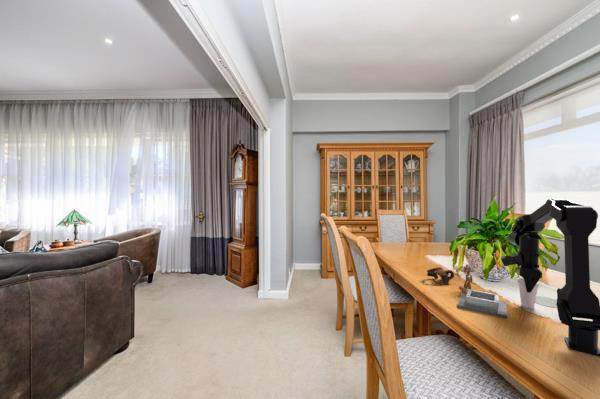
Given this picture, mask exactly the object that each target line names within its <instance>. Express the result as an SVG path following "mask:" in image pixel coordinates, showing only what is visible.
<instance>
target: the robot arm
mask: <svg viewBox="0 0 600 399" xmlns="http://www.w3.org/2000/svg"><path fill="white" fill-rule="evenodd" d="M598 218H599V214H598V211H597V210H596V209H594V208H593V206H589V205H585V204H581V203H578V202H574V201H571V200H570V199H566V198H549V199H547V200H546V201H545V203H544V204H542V205H541V206H540V207H538V208H537V209H536V210H534V211H533V212H532V213H529V214H524V215H521V216H519V217H517V219H516V220H515V222H514V224H513V226H512V227H511V232H510V233H509V234H508V236H507V240H508V242H509V243H511V244H512V245H513V246H514V245H515V246H517V247H518V250H517V253H515V254H507V255H503V256H501V257H500V260H501V262H502V265H503V267H509V266H513V265H514V266H515V265H516V267H517V270H518V275H519V276H520V277H521V278H522V279H524V281H525V286H526V290H527V292H529V293H531V291H532V290H533V288H534V287H535V285H536V284H537V282H538V283H539V281H540V280H541V279H542V278H543V271H542V270H541V269H540V263H539V261H540V260H539V258H540V253H539V252H540V240H542V237H541V235H539V233H540V232H542V231H543V230H544V229H545V228H546V225H545V224H546V223H548V222H549V221H551V220H553V219H554V220H555V223H556V224H555V226H556V227H557V228H558V230H559V231H560V232H561V234H562V235H563V239H564V244H563V245H564V270H565V271H564V273H565V274H564V275H565V278H564V279H565V284H564V286H563V287H558V288H557V289H556V295H557V296H556V308H557V313H558V314H557V316H558V318H559V321H560V322H561V323H560V324H563V325H565V326H568V332H567V333H568V335H567V336H568V337H566V336H565V337H564V341H565V344H566V345H567V348H568V349H570V350H575V351H579V352H583V353H587V354H590V355H595V356H599V357H600V348H599V331H600V299H599V298H598V296H597V294H595V292H594V291H593V290H592V289H591V277H590V276H591V275H590V274H591V273H590V269H591V268H590V248H589V246H590V244H589V236H591V234H592V233H594V231H596V228H597V224H598ZM583 319H584V320H583Z"/></svg>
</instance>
